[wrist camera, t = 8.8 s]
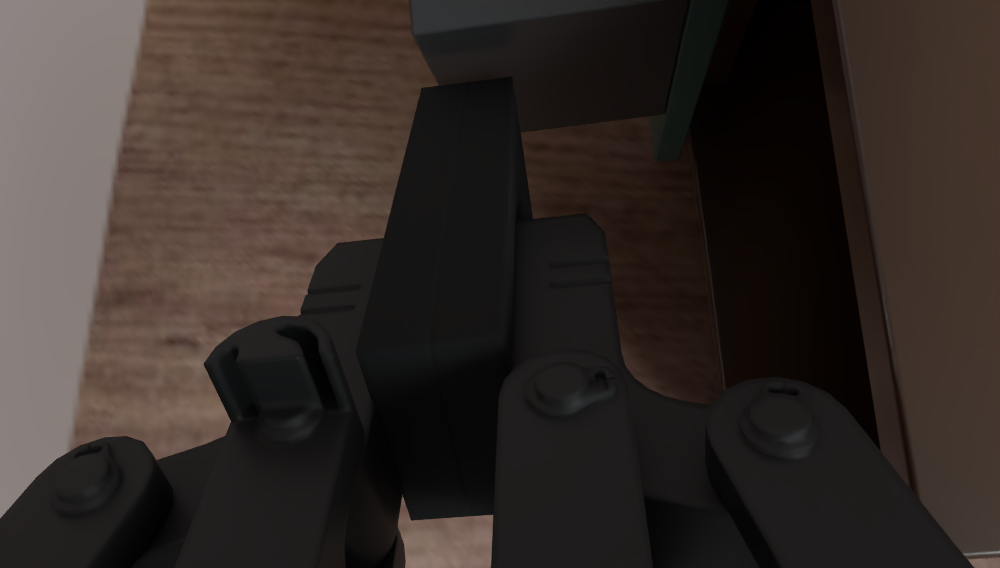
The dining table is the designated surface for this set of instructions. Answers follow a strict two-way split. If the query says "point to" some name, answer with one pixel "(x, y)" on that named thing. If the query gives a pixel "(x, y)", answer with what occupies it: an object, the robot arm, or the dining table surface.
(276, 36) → the dining table surface
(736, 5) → the cupboard
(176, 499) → the robot arm
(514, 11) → the door
